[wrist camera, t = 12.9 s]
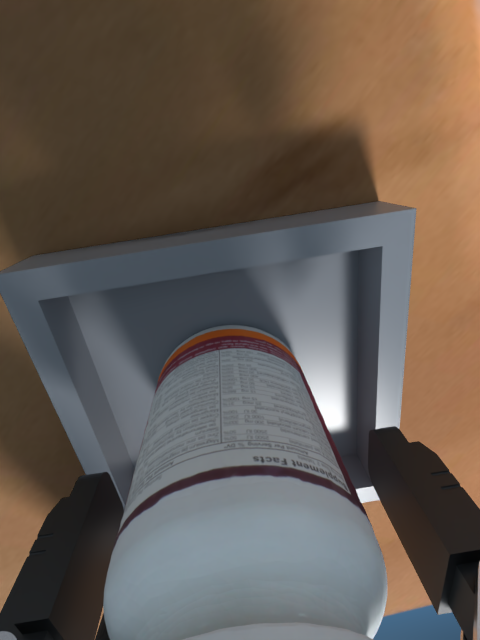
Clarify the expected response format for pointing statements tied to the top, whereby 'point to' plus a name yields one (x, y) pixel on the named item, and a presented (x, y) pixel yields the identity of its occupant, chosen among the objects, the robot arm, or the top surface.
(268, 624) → the pill bottle
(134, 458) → the tray
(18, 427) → the top surface
